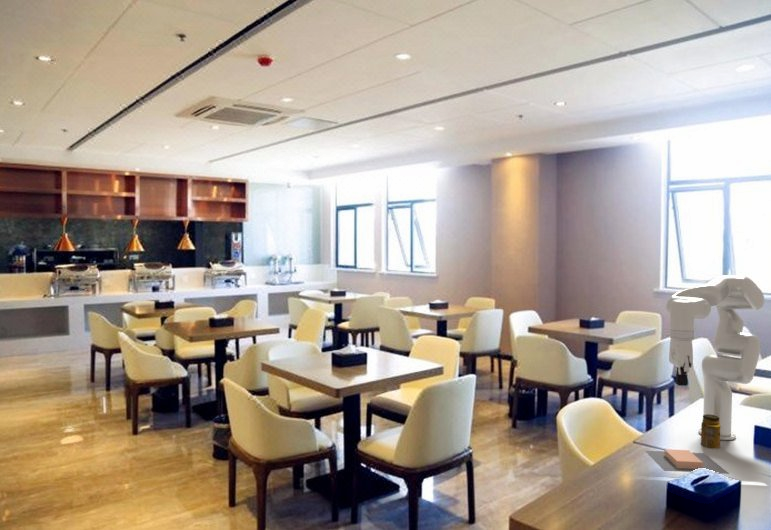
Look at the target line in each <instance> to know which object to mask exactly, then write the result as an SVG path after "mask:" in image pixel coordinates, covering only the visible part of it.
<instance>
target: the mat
mask: <svg viewBox="0 0 771 530" xmlns="http://www.w3.org/2000/svg"><path fill="white" fill-rule="evenodd" d="M645 452H646V453H647V455H649V456H650V457H651V459H653V461H654V462H655V463H656V464H657V465H658V466H659V467H660V468H661V469H662V470H663V471H666V472H668V471H669V472H683V473H684V472H685V473H686V472H687V473H692V472H691V471H693V470H695V469H692V468H677V467H676V466H675V465H674V464H673V463H672V462H671V461H670V460H669V459H668V458H667V457H666V456H665V455H664V450H661V451H660V450H645ZM691 453H692V454H694V455H695V456H696V457H697V458H698V459H700V460H701V461H702V462H703V468H706V469H709V470H713V471H715V472H719V473H718V474H728V475H729V474H730V473H729V472H728V471H727V470H725V469H724V468H723V467H722V466H721V465H720V464H718V463H717V462H716V461H714V460H713V458H711V457H710V456H709V455H708V454H706V453H705V452H691Z"/></svg>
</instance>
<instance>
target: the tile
mask: <svg viewBox="0 0 771 530" xmlns="http://www.w3.org/2000/svg"><path fill="white" fill-rule="evenodd" d="M663 451H664V455H665V456H666V457H667V458H668V459H669V460H670V461H671V462H672V463H673V464H674V465H675V466H676V467H677V468H692V469H698V468H703V462H702V461H701V460H700V459H698V458H697V457H696V456H695V455H694V454H692V453H693V452H691V451H690V450H687V449H672V448H671V449H669V448H666V449H665V448H664V450H663Z"/></svg>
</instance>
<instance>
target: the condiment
mask: <svg viewBox="0 0 771 530" xmlns="http://www.w3.org/2000/svg"><path fill="white" fill-rule="evenodd" d="M719 423H720V422H719V417H718V416H715V415H710V414H706V415H703V416H702V422H701V423H700V424H701V427H700V428H701V434H700V445H701V446H702V447H704V448H707V449H719V448H721V440H720V424H719Z"/></svg>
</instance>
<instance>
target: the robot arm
mask: <svg viewBox="0 0 771 530" xmlns="http://www.w3.org/2000/svg"><path fill="white" fill-rule="evenodd" d="M764 304H765V296H764V293H763V292H762V290H761V288H759V287H758V285H757V283H755V282H754V281H753V280H752V279H751V278H749V277H747V276H743V275H728V274H727V275H725V274H724V275H723V274H722V275H716V276H715V277H713V278H712V279H710V280H709V281H707V282H706V283H704V284H703V285H699V286H695V287H691V288H686V289H683V290H680V291H677V292H676V293H674V294H672V295H671V296H670V297H669V299H668V300H667V302H666V312H667V314H669V338H670V341H669V352H668V353H669V355H668V361H669V362H670V364H671V365H674V366H675V384H676V385H677V386H680V387H681V386H682V387H683V386H684V387H686V386H688V373H690V369H691V368H692V367H693V366H694V349H693V340H694V339H695V338H694V337H695V336H694V335H695V331H694V329H695V328H694V327H695V324H694V323H695V321H694V320H702V319H705V318H708V316H709V315H710V313H711V311H712V307H713V306H716V309H717V313H718V317H719V320H718V325H717V328H716V332H715V334H714V337H713V342H712V348H713V351H715V352H716V353H718V354H708V355H706V356H704V358H703V359H702V362H701V370H702V376H703V377H702V378H703V415H706V414H710V415H715V416H718V417H719V422H720V423H719V424H720V441H731V440H735V439H736V438H737V436H736V433H735V432H733V431H732V412H733V411H732V410H733V409H732V407H733V390H732V388H731V386H730V385H729V383H728V382H730V383H735V384H743V385H747V384H750V383H751V382H752V381H753V379H754V375H755V373H756V368H757V366H758V361H759V357H760V354H761V348H762V346H761V339H760V338H759V337H758V336H757V335H755V334H754V333H749V332H743V330H744V329H743V328H744V327H745V323H744V320H743V318H742V317H741V316H740V314H739V313H738V312H737V310H743V311H758V310H761V309H762V308H763V307H764ZM698 433H699V434H700V435H701V427H699V428H698Z"/></svg>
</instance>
